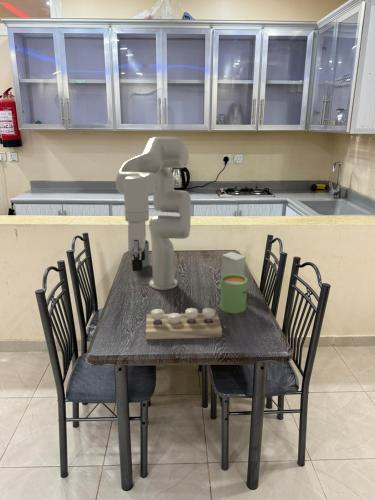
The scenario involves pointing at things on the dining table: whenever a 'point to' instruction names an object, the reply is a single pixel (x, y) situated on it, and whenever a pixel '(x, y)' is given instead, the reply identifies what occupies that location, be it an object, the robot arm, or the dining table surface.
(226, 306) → the mug
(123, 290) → the dining table surface
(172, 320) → the white egg
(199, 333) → the board
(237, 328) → the dining table surface
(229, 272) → the skincare box
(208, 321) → the egg
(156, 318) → the off-white oval piece
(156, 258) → the robot arm
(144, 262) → the teal cup
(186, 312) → the white egg
